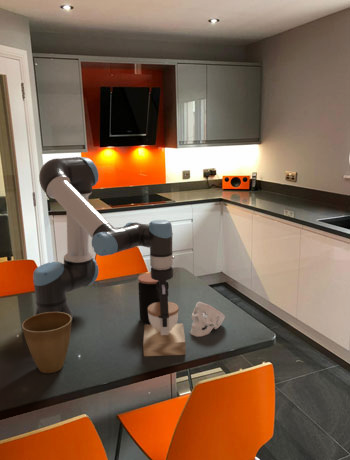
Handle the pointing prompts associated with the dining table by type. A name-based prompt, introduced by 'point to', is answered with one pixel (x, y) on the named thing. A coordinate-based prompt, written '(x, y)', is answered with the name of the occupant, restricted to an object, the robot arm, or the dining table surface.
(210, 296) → the dining table surface
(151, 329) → the beech block
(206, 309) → the skull bowl
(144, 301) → the coffee jar
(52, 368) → the plant pot
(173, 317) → the lidded jar
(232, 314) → the dining table surface
